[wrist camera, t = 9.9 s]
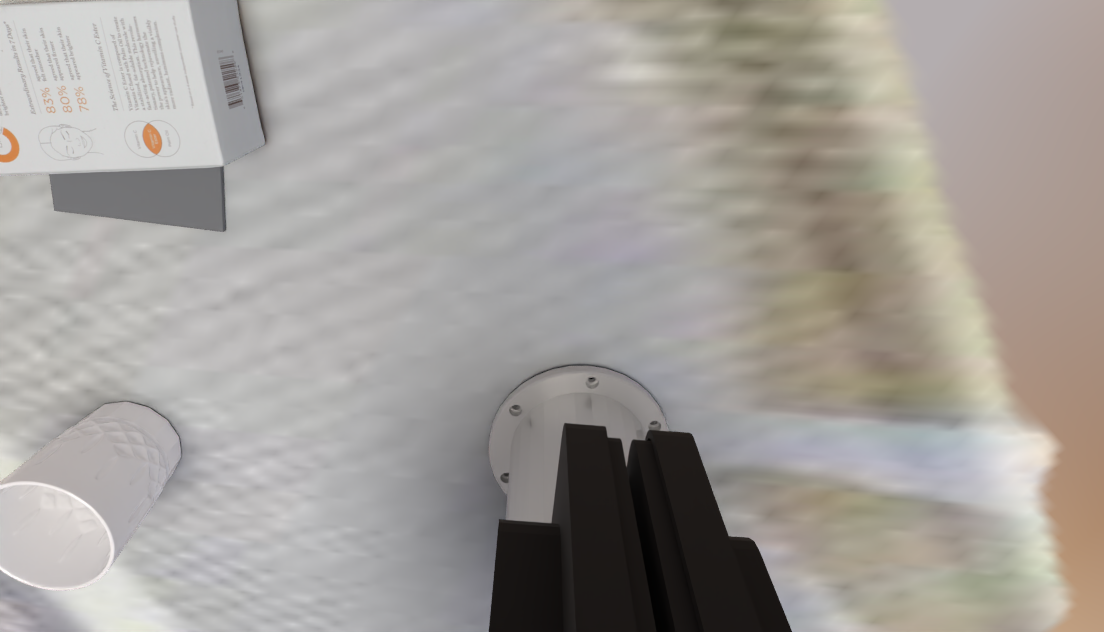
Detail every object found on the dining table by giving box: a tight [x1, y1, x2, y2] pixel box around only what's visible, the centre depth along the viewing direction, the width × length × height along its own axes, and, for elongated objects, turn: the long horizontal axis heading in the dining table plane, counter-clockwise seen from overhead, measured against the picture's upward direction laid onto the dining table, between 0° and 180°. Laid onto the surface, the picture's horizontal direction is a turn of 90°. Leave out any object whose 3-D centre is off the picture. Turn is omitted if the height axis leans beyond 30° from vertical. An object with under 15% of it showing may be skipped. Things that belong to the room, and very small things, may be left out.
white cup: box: [0, 402, 182, 591], centre depth 46 cm, size 8×8×10 cm
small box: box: [0, 0, 265, 176], centre depth 38 cm, size 8×6×13 cm
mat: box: [49, 166, 226, 232], centre depth 42 cm, size 11×10×1 cm
